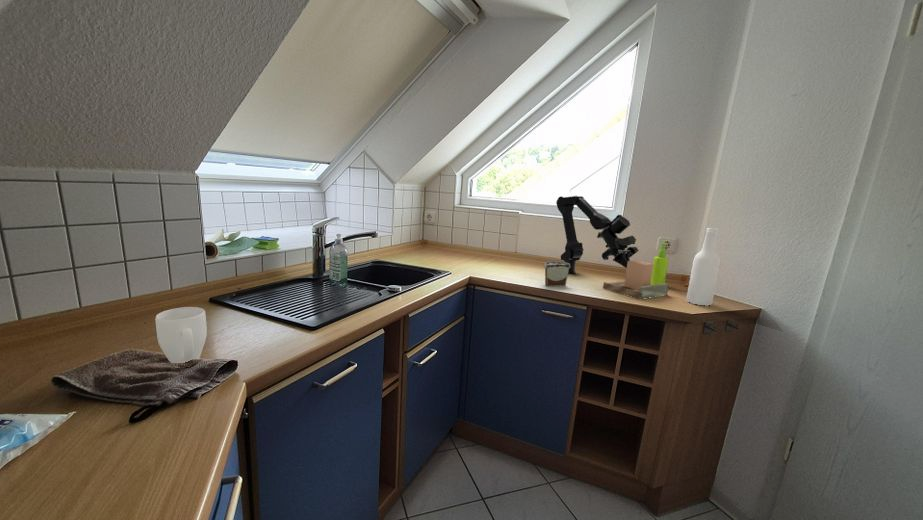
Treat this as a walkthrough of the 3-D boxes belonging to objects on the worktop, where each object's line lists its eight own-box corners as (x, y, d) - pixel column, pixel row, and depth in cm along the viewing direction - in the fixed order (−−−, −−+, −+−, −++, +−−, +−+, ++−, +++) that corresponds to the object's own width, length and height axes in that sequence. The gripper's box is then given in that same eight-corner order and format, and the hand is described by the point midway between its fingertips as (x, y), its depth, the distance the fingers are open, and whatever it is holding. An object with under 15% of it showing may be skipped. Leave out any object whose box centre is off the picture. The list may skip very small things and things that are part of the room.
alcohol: (710, 302, 151) (725, 228, 145) (712, 308, 144) (728, 230, 138) (685, 298, 155) (698, 226, 149) (686, 303, 148) (700, 227, 142)
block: (624, 285, 162) (627, 260, 160) (632, 284, 165) (636, 260, 163) (641, 290, 156) (645, 264, 154) (649, 289, 159) (653, 263, 157)
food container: (560, 282, 171) (563, 260, 169) (568, 285, 165) (571, 263, 163) (536, 282, 167) (538, 260, 165) (543, 286, 161) (546, 263, 159)
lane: (602, 288, 164) (604, 277, 163) (629, 284, 174) (630, 273, 173) (640, 299, 149) (642, 287, 148) (666, 295, 159) (668, 283, 158)
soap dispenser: (666, 285, 177) (673, 243, 173) (661, 287, 172) (669, 244, 168) (652, 282, 181) (659, 241, 177) (648, 284, 176) (655, 242, 172)
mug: (158, 362, 80) (153, 311, 77) (205, 352, 85) (201, 304, 83) (165, 386, 71) (159, 329, 69) (216, 373, 77) (212, 320, 75)
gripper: (610, 229, 159) (630, 259, 152) (637, 229, 169) (657, 257, 162) (593, 244, 167) (611, 274, 160) (620, 243, 177) (638, 271, 170)
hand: (630, 269), depth 163 cm, fingers closed, pressing on block
